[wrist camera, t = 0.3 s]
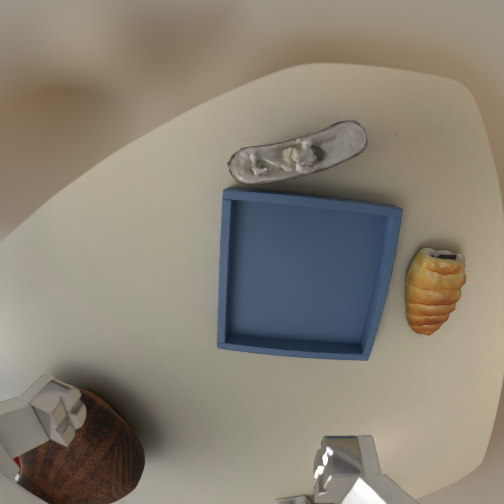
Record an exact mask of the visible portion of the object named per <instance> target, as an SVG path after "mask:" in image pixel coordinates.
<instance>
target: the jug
mask: <svg viewBox="0 0 504 504" xmlns="http://www.w3.org/2000/svg"><path fill="white" fill-rule="evenodd" d="M74 387H75V386H74ZM76 388H79V387H76ZM79 390H80V393H81V397H80V399H81V401H82V402H83V403H84V404H85V407H86V412H87V415H86V419H85V422H84V424H83V425H82V427H80V428H78V429H76V430H75V437H74V438H73V440H72V441H71V443H70V444H69V446H68V447H65V446H63V445H61V444H59V443H57V442H55V441H53V440H51V439H49V441H47V442H45V443H43V444H41V445H39V446H37V447H35V448H33V449H31V450H29V451H27V452H25V453H23V454H21V455H19V456H18V457H19V460H20V463H21V473H20V477H19V479H18V482H17V484H19V485H20V486H22V487H23V488H25V489H26V490H28V491H29V492H31V493H32V494H34V495H35V496H37V497H39V498H40V499H42V500H43V501H45V502H47V503H49V504H110V503H113V502H115V501H117V500H119V499H121V498H123V497H124V496H126V495H128V494H129V493H130V492H132V491H133V490H134V489H135V488H136V486H137V485H138V482H139V480H140V478H141V475H142V473H143V470H144V465H145V456H144V451H143V448H142V446H141V443H140V441H139V440H138V438H137V436H136V434H135V433H134V432H133V430H132V429H131V428H130V426H129V425H128V424H127V423H126V422H125V421H124V420H123V419H122V418H121V417H120V416H119V414H118V413H117V412H116V411H115V410H114V409H113V408H112V407H111V406H110V405H109V404H108V403H107V402H105V401H104V400H103V399H102V398H100V397H99V396H98V395H96V394H95V393H93V392H91V391H89V390H86V389H84V388H79Z"/></svg>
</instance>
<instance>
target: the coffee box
mask: <svg viewBox="0 0 504 504" xmlns="http://www.w3.org/2000/svg"><path fill="white" fill-rule="evenodd" d="M274 504H312V503H311V502H310V501H309V499H308V498H307V497H306V496H299V497H292V498H285V499H277V500H275V502H274Z"/></svg>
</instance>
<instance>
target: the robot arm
mask: <svg viewBox="0 0 504 504" xmlns="http://www.w3.org/2000/svg"><path fill="white" fill-rule="evenodd" d="M80 397H81V393H80V390H79V388H76V387H74V386H71V385H69V384H67V383H64V382H62V381H60V380H58V379H56V378H53V377H51V376H49V375H47V374H44V375H41V376H40V377H39V378H38V379H37V380H36V381H35V382H34V383H33V384H32V385H31V386H30V387H29V389H28V390H27V391H26V392H25V393H24V394H23V395H22V396H21V397H20V398H18V397H15V398H11V399H8V400H5V401H2V402H0V504H49V503H47V502H45V501H43V500H42V499H40V498H39V497H37V496H35V495H34V494H32V493H31V492H29V491H28V490H26V489H25V488H23V487H22V486H20V485H19V484H17V483H16V482H14V481H13V480H14V478H15V477H16V475H17V474H18V472H19V471H20V468H19V466H18V465H17V464H16V462H15V461H14V460H13V458H15V457H17V456H19V455H21V454H23V453H25V452H27V451H29V450H31V449H33V448H35V447H37V446H39V445H41V444H43V443H45V442H47V441H49V439H51V440H53V441H55V442H57V443H59V444H61V445H63V446H65V447H68V446H69V444H70V443H71V441H72V440H73V438H74V437H75V430H76V429H78V428H80V427H82V425H83V424H84V422H85V419H86V415H87V412H86V407H85V404H84V403H83V402H82V401H81V399H80ZM314 477H315V478H316V479H317V482H316V484H315V486H314V503H341V504H419V503H417V501H415V500H414V499H413V498H412V497H411V496H410V495H408V494H407V493H406V492H405V491H404V490H403V489H402V488H400V487H399V486H398V485H397V484H396V483H395V482H394V481H393V480H391V479H390V478H389V477H388V476H387V475H382V474H381V470H380V465H379V461H378V456H377V452H376V448H375V443H374V439H373V437H372V436H371V435H362V436H355V435H350V436H324V437H323V439H322V441H321V449H319V450H318V451H317V453H316V456H315V461H314Z"/></svg>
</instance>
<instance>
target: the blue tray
mask: <svg viewBox="0 0 504 504" xmlns="http://www.w3.org/2000/svg"><path fill="white" fill-rule="evenodd" d="M222 198H223V199H222V215H221V236H220V260H219V289H218V326H217V348H219V349H226V350H233V351H241V352H250V353H259V354H268V355H279V356H290V357H302V358H317V359H335V360H363V361H368V359H369V356H370V353H371V350H372V347H373V343H374V340H375V336H376V333H377V329H378V326H379V322H380V319H381V315H382V311H383V307H384V303H385V299H386V295H387V291H388V286H389V282H390V277H391V273H392V268H393V263H394V258H395V253H396V248H397V242H398V237H399V231H400V225H401V217H402V211H403V209H401V208H399V207H396V206H394V205H389V204H382V203H375V202H368V201H361V200H353V199H345V198H337V197H329V196H320V195H311V194H302V193H292V192H281V191H270V190H258V189H245V188H231V187H229V188H226V189H224V190H223V197H222Z"/></svg>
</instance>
